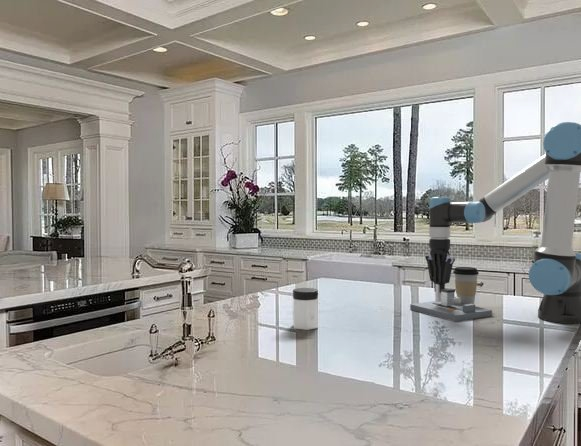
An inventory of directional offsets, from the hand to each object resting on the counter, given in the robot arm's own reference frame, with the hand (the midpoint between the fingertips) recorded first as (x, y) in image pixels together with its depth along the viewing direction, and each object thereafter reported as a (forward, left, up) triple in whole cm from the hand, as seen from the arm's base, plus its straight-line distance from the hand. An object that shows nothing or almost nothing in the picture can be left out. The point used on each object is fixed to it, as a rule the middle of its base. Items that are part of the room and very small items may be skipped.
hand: (439, 301), depth 183 cm
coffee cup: (-1, -13, -4) cm, 13 cm away
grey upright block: (-4, 0, -1) cm, 4 cm away
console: (-5, 0, -3) cm, 6 cm away
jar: (+2, +57, -4) cm, 57 cm away
